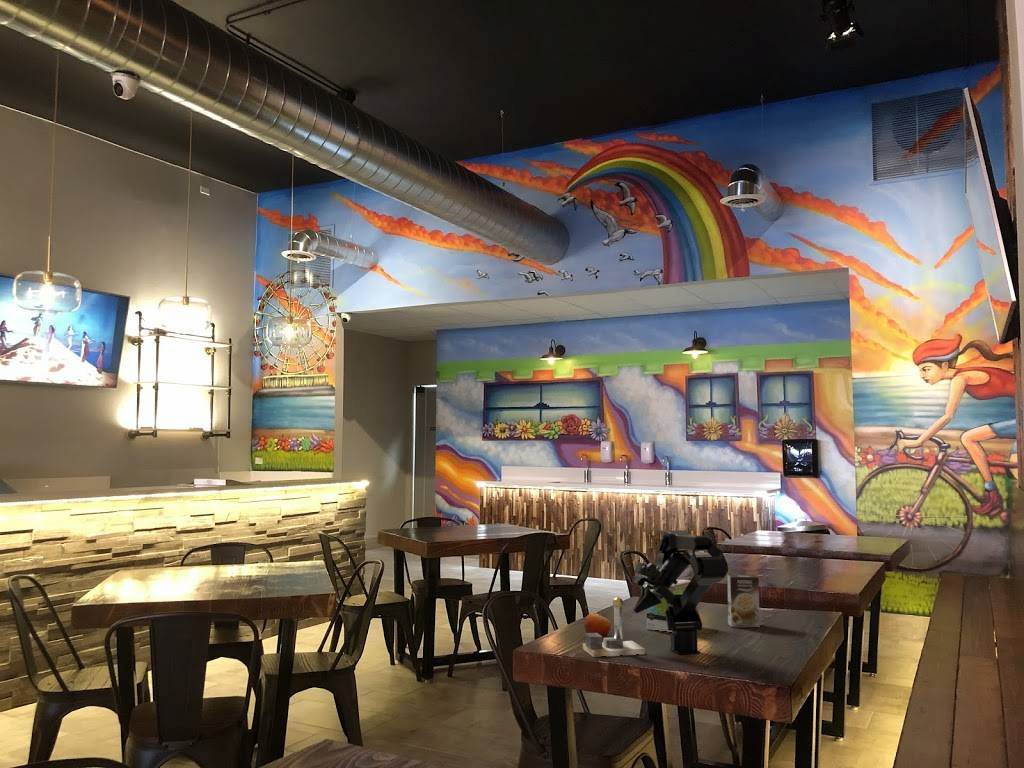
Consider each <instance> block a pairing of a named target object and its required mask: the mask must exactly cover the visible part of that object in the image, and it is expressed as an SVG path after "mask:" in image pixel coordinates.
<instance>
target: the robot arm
mask: <svg viewBox="0 0 1024 768" xmlns="http://www.w3.org/2000/svg"><path fill="white" fill-rule="evenodd" d="M657 549H658V555H657V556H656V558H655V564H654V563H652V562H649V563H648V564H646V563H644V562H640V561H638V562H637V564H636V566H635V568H634V571H633V572H634V573H636V574H640V575H638V576H636V577H635V579H633V582H634V583H635V584H636V585H637V586H638V587H639V589H640V594H639V596H638V599H637V602H636V604H635V605H634V608H633V612H634V613H635V614H639V613H641V612H643V611H645V610H647V609H648V608H650V607H652V606H655V605H657V604H661V603H662V602H661V599H662V598H664V599H665V600H666V603H667V604H668V605H667V607H666V611H665V615H666V621H667V626H668V630H671V631H672V633H670V647H669V649H670V651H672V650H673V651H672V652H674V653H676V654H677V655H689V654H690V655H691V654H700V653H701V651H700V650H699V649H698V631H702V628H703V622H702V618H701V617H700V613H699V611H698V607H697V606H698V605H699V604H700V602H701V600H703V597H704V596H705V594H706V593H707V592H708V590H709V589H710V587H711V586H712V585H714V584H717V583H719V582H720V583H721V581H723V580H724V579H725V578H726V576H727V575H728V574H729V573H728V572H729V563H728V562H727V559H726V557H725V555H724V552H723V550H721V549H719V548H718V546H716V545H715V544H714V543H713V541H712V539H711V537H710V536H707V535H695V534H690V532H689V531H687V530H683V529H681V530H680V529H678V530H664V532H663V534H662V535H661V538H660V540H659V543H658V545H657ZM687 550H690V551H691V555H690V553H689V552H687ZM696 552H707V554H709V556H697V555H696ZM689 566H691V569H692V571H693V573H694V574H693V577H692V578H691V580H690V583H689V584H688V586H687V587H686V589H685V591H684V592H683V594H679V595H674V594H673V593H672V592H671V591H670V590H669V588H670V587H671V586H672V584H675V585H676V584H677V583H678V581H677V579H680V576H681V575H682V574H683V573H684V572H685V570H686V569H688V567H689ZM686 622H693V623H686Z"/></svg>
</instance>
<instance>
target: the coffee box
mask: <svg viewBox="0 0 1024 768" xmlns="http://www.w3.org/2000/svg"><path fill="white" fill-rule="evenodd" d="M759 581H760V579H759V576H757V575H755V574H743V573H742V574H740V573H739V574H735V573H733V574H732V573H727V624H728V625H729V626H730V627H731V628H747V627H759V628H760V589H759V588H760V586H759V584H760V582H759Z"/></svg>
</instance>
